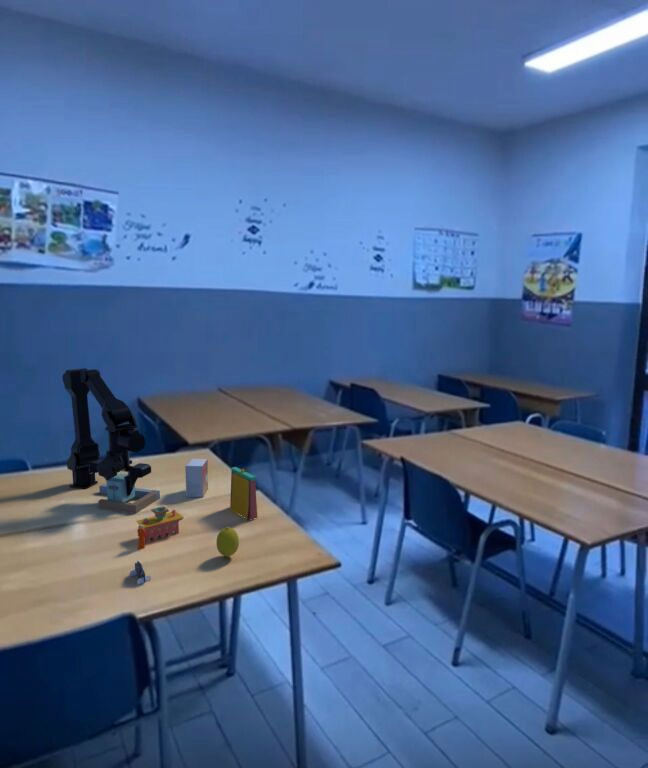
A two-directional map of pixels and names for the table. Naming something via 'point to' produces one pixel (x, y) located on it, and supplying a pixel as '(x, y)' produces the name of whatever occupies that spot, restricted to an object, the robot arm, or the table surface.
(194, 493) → the small box
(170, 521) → the toy shop counter set
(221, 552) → the lemon
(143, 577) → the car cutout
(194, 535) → the table surface
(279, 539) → the table surface
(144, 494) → the u-shaped bar frame
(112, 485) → the blue block with grip
